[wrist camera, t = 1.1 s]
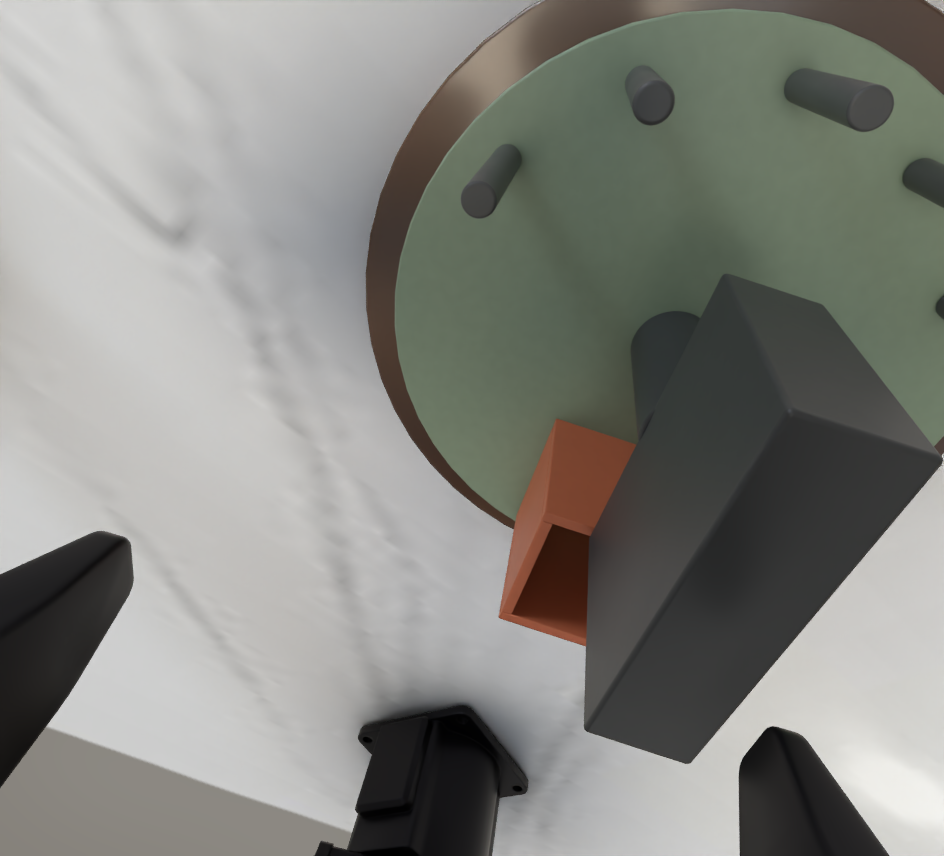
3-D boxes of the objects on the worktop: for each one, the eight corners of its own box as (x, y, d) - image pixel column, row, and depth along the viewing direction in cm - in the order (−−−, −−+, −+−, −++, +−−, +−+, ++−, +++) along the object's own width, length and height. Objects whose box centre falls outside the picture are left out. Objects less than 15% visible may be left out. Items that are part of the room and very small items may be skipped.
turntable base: (793, 608, 25) (800, 629, 24) (334, 458, 25) (324, 473, 24) (1213, 88, 15) (1250, 92, 14) (453, -161, 15) (444, -173, 14)
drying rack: (788, 603, 23) (906, 973, 14) (359, 463, 23) (204, 744, 14) (1160, 135, 14) (2055, 315, 6) (481, -88, 14) (285, -265, 6)
